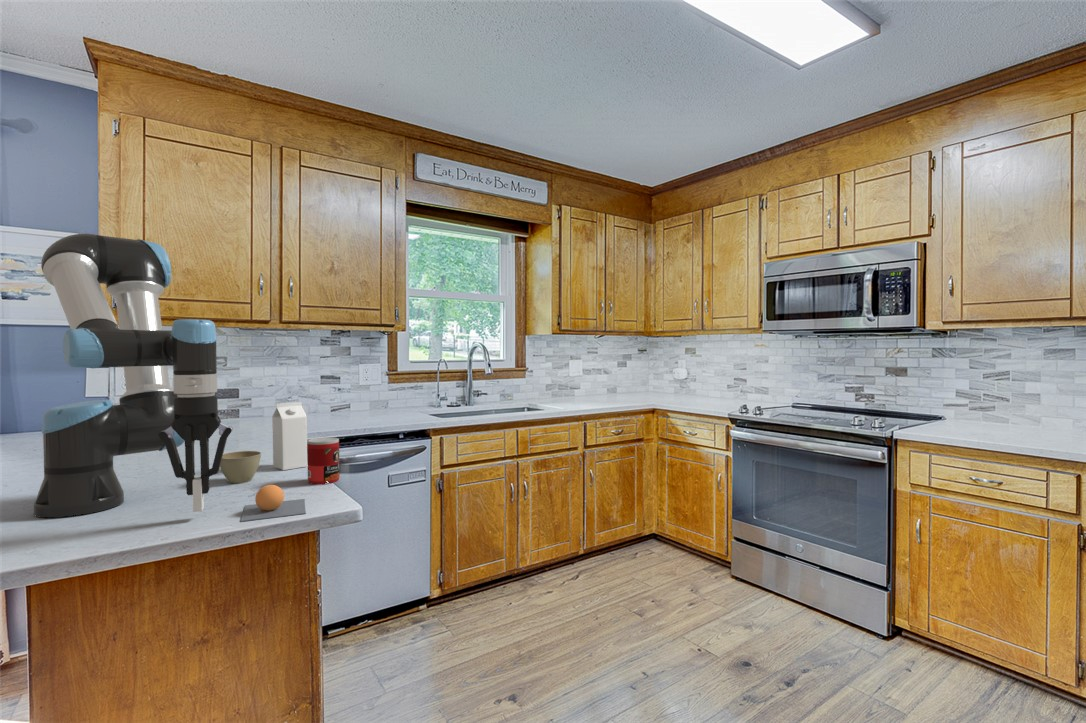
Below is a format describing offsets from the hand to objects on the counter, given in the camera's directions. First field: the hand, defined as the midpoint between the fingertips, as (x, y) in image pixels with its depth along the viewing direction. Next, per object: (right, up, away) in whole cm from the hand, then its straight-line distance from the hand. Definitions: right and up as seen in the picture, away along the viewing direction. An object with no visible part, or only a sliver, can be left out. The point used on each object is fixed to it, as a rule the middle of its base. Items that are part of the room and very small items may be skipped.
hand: (198, 509), depth 111 cm
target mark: (+13, -2, +6) cm, 14 cm away
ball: (+12, +1, +6) cm, 13 cm away
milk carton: (-4, -1, +49) cm, 49 cm away
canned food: (+13, -1, +31) cm, 34 cm away
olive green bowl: (-9, -1, +32) cm, 33 cm away
